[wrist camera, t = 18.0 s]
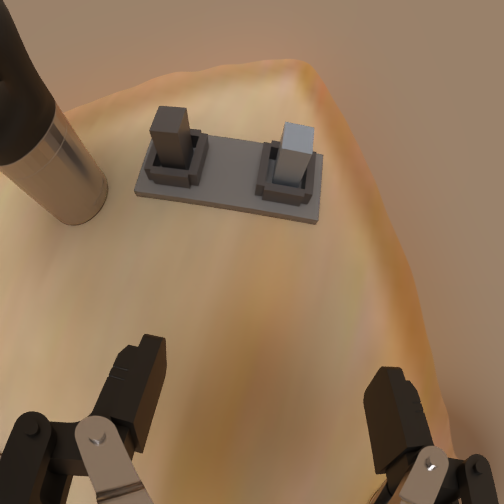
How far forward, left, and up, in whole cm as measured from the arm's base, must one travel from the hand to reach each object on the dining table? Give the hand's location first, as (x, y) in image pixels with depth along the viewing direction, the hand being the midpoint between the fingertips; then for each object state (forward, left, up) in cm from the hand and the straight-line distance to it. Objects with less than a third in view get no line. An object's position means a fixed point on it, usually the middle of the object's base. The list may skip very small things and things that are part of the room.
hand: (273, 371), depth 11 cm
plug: (+2, +22, -25) cm, 33 cm away
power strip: (-5, +22, -27) cm, 35 cm away
